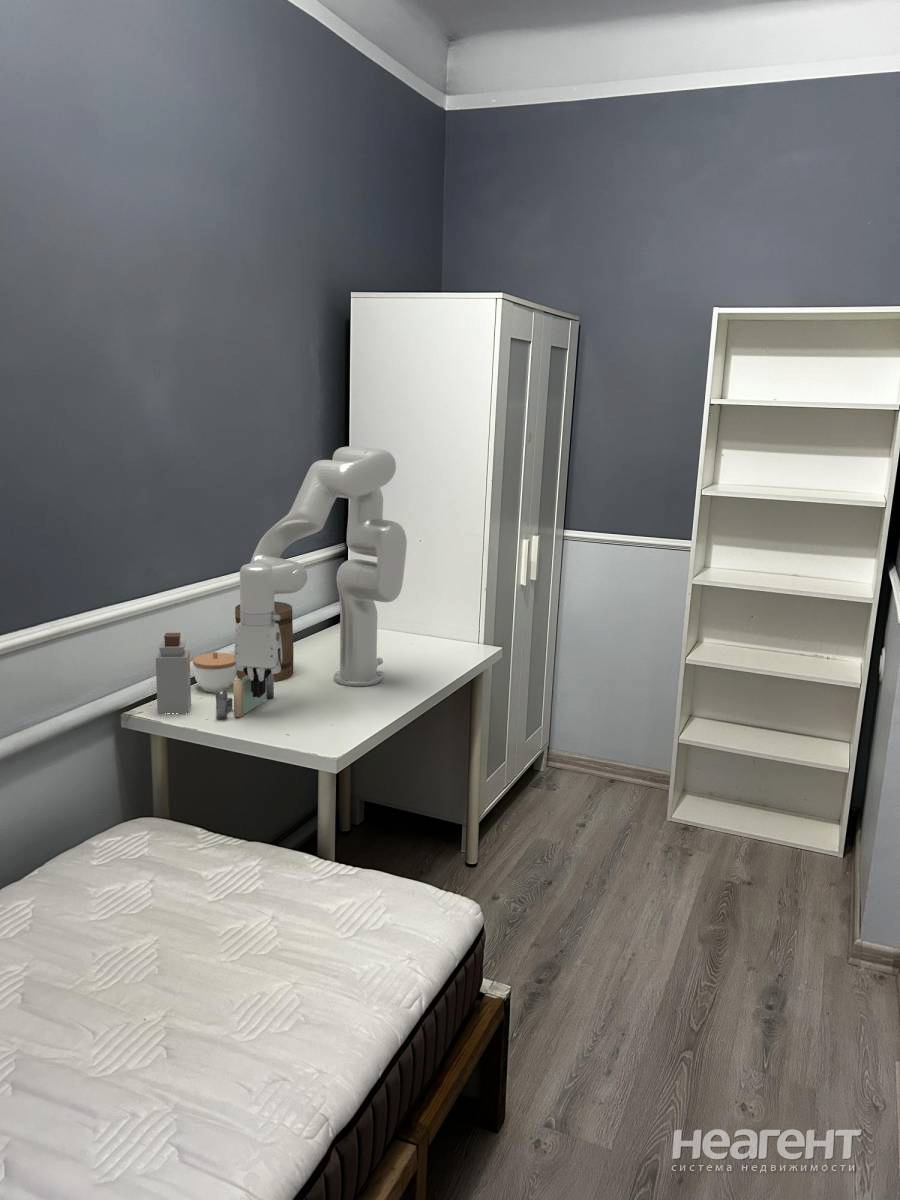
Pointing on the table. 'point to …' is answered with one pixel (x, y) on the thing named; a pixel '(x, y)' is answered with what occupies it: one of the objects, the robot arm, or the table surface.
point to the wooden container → (286, 639)
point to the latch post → (222, 705)
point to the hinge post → (270, 687)
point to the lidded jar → (215, 671)
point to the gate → (245, 696)
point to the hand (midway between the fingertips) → (258, 695)
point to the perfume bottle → (173, 676)
